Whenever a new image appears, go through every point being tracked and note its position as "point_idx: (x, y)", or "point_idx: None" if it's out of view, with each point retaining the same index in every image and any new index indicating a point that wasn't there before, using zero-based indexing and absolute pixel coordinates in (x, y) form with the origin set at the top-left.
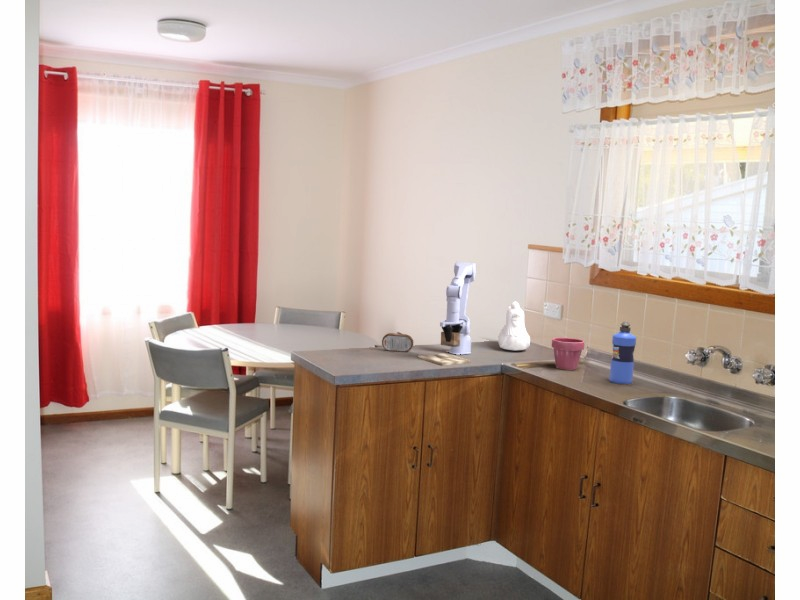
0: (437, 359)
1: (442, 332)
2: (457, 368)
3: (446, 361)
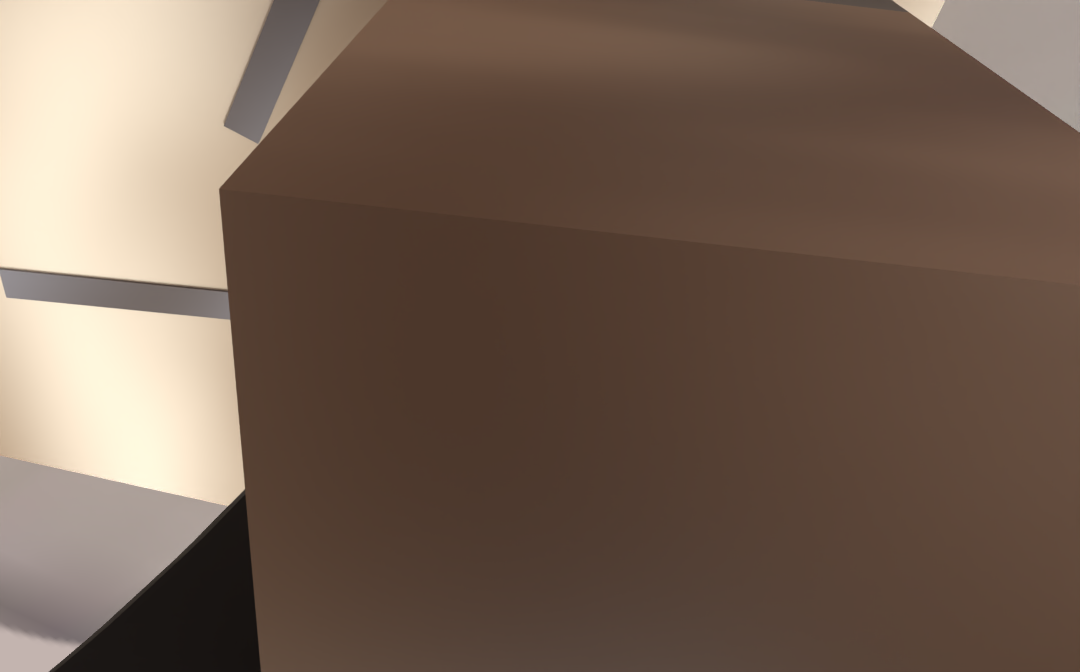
0: (51, 148)
1: (248, 367)
2: (66, 640)
3: (112, 397)
